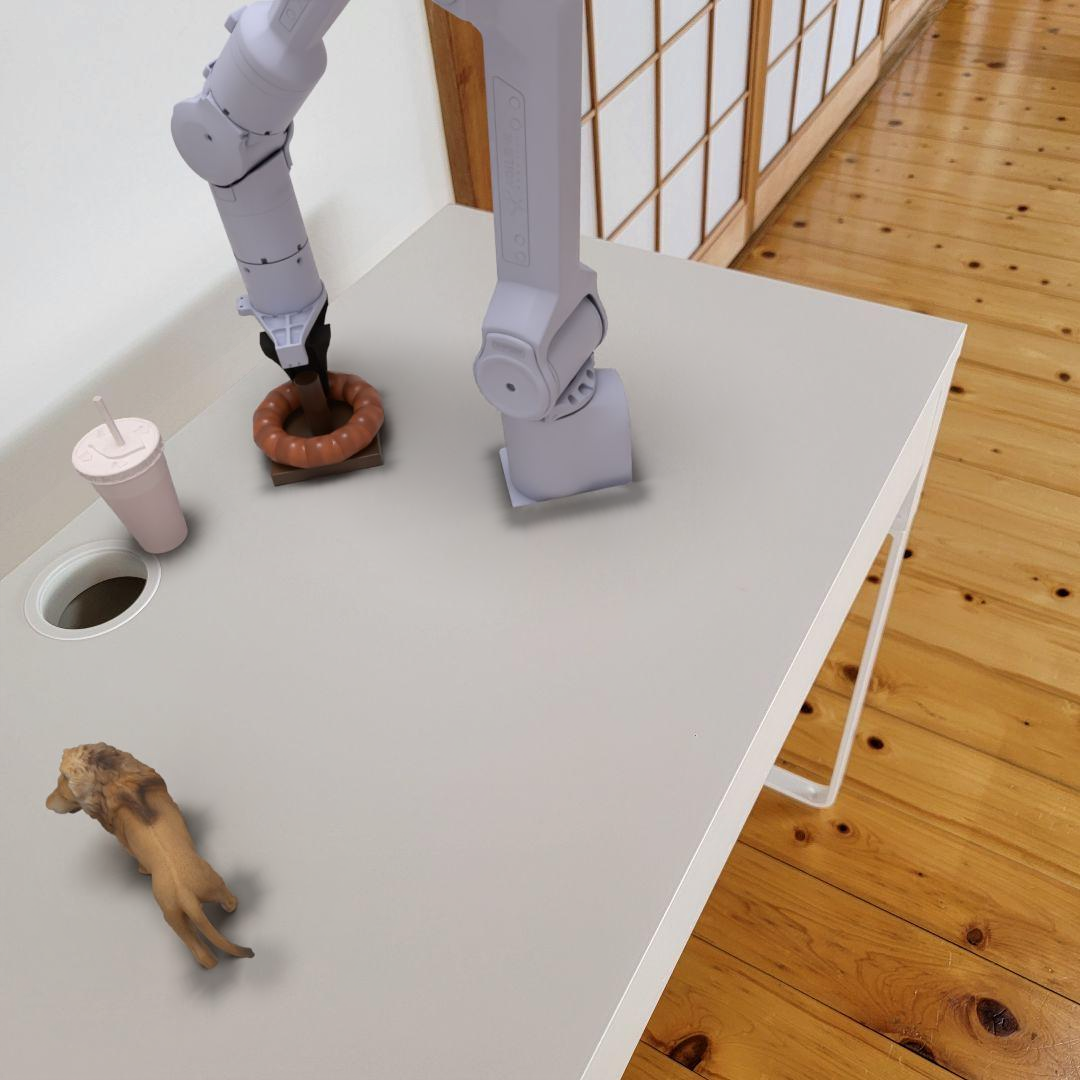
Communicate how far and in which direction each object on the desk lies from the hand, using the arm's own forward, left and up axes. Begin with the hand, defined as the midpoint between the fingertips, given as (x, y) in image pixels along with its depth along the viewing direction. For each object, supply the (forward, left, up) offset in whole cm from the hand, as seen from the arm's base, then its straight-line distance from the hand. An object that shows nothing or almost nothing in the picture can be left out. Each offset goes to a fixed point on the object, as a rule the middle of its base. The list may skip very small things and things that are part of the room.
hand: (316, 385), depth 86 cm
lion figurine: (+10, +42, -3) cm, 43 cm away
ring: (0, +4, 0) cm, 4 cm away
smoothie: (+13, +12, -3) cm, 18 cm away
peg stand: (0, +4, -3) cm, 5 cm away
